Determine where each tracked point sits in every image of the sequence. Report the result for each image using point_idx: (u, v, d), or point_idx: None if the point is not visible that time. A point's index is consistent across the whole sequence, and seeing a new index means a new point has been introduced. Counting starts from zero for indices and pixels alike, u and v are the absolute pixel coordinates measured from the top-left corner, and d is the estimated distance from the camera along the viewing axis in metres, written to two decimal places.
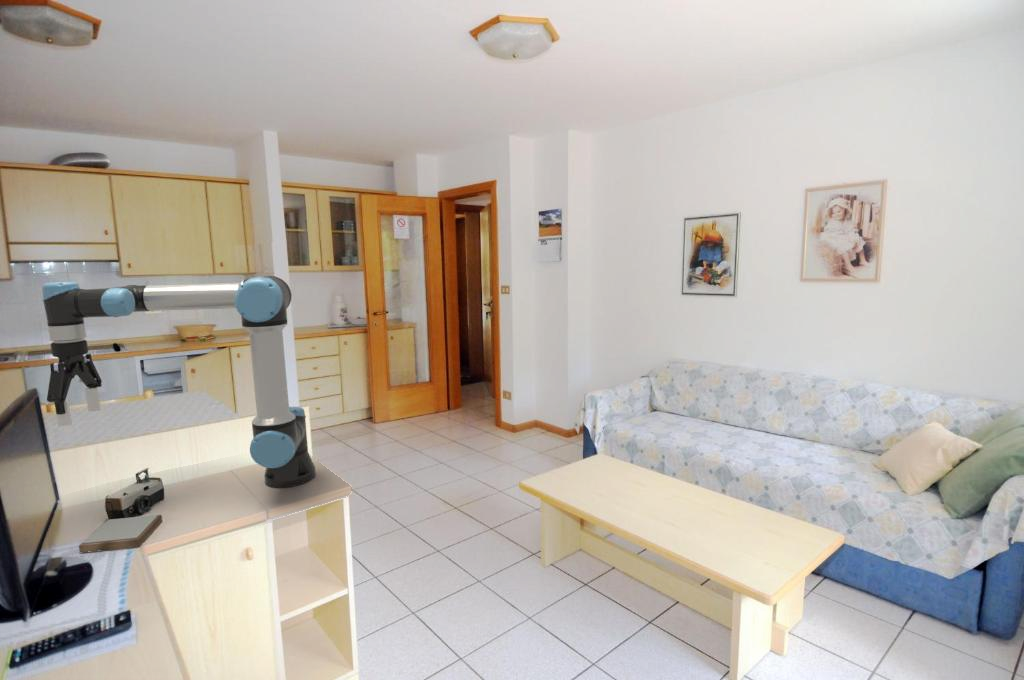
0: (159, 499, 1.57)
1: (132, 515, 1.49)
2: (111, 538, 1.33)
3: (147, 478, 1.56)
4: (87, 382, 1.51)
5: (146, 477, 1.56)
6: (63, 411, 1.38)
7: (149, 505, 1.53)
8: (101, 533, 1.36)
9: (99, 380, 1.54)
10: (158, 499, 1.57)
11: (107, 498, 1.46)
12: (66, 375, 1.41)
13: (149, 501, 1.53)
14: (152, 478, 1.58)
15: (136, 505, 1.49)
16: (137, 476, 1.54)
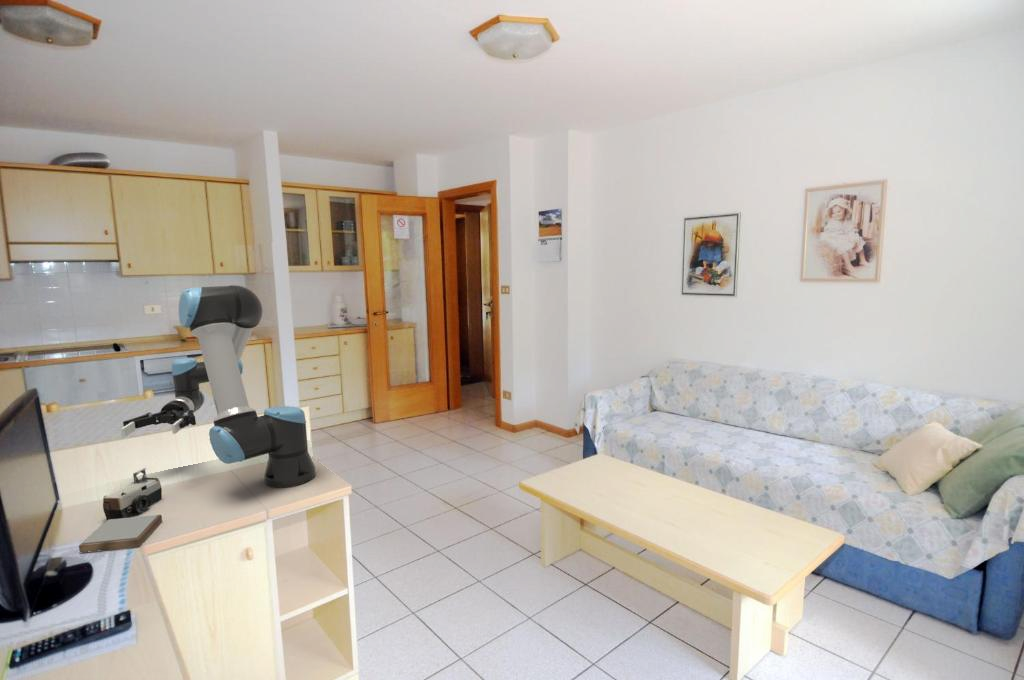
0: (156, 499, 1.58)
1: (130, 515, 1.49)
2: (111, 538, 1.33)
3: (144, 478, 1.56)
4: None
5: (144, 477, 1.56)
6: None
7: (147, 505, 1.53)
8: (101, 533, 1.36)
9: (191, 416, 1.70)
10: (155, 499, 1.57)
11: (105, 498, 1.46)
12: None
13: (147, 501, 1.53)
14: (149, 478, 1.58)
15: (134, 504, 1.49)
16: (135, 476, 1.55)
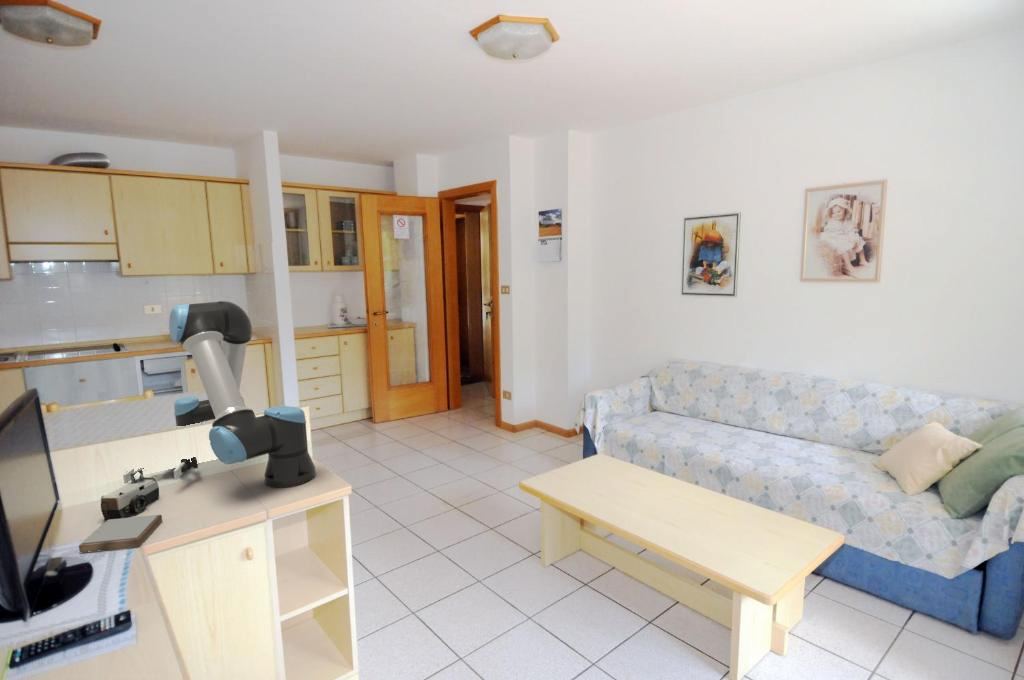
0: (154, 499, 1.58)
1: (128, 515, 1.49)
2: (111, 538, 1.33)
3: (142, 478, 1.56)
4: None
5: (141, 477, 1.56)
6: None
7: (145, 505, 1.53)
8: (101, 533, 1.36)
9: (193, 460, 1.70)
10: (153, 499, 1.57)
11: (103, 498, 1.46)
12: None
13: (145, 501, 1.53)
14: (147, 478, 1.59)
15: (132, 504, 1.49)
16: (132, 476, 1.55)
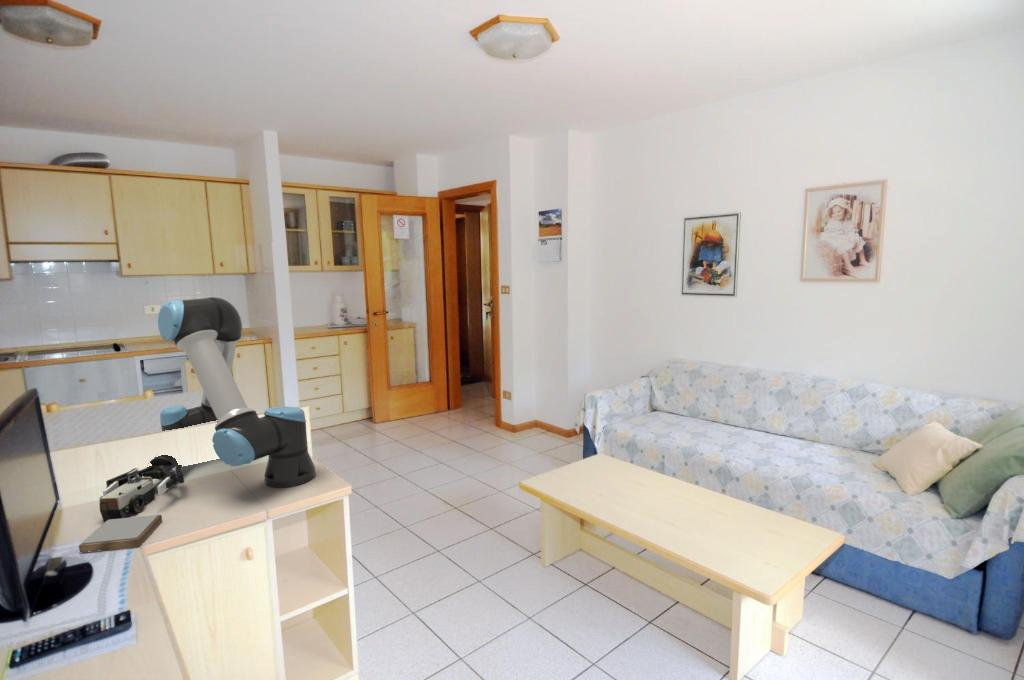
0: (151, 499, 1.58)
1: (128, 514, 1.49)
2: (111, 538, 1.33)
3: (138, 478, 1.56)
4: None
5: (137, 477, 1.56)
6: (107, 487, 1.52)
7: (143, 504, 1.53)
8: (101, 533, 1.36)
9: (179, 474, 1.59)
10: (149, 499, 1.57)
11: (102, 499, 1.45)
12: None
13: (143, 500, 1.53)
14: (142, 478, 1.58)
15: (132, 504, 1.49)
16: (128, 476, 1.54)
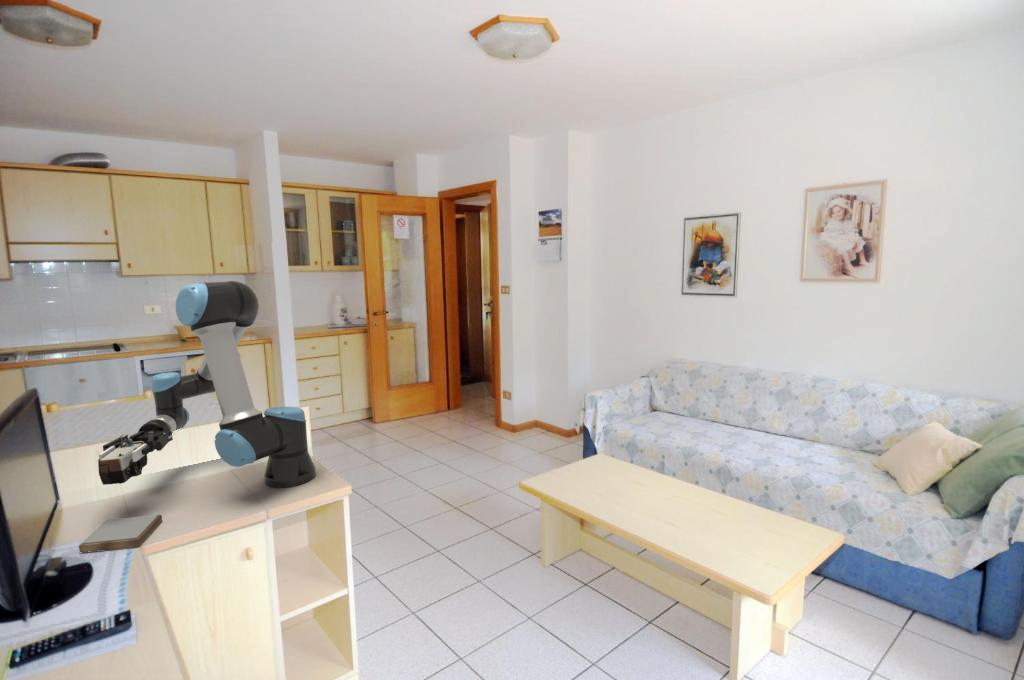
0: (144, 463, 1.53)
1: (128, 476, 1.45)
2: (111, 538, 1.33)
3: (131, 442, 1.51)
4: None
5: (130, 441, 1.51)
6: (104, 451, 1.47)
7: (141, 467, 1.49)
8: (101, 533, 1.36)
9: (157, 441, 1.53)
10: (143, 463, 1.53)
11: (102, 460, 1.40)
12: None
13: (141, 463, 1.49)
14: (133, 443, 1.53)
15: (133, 465, 1.45)
16: (121, 440, 1.49)
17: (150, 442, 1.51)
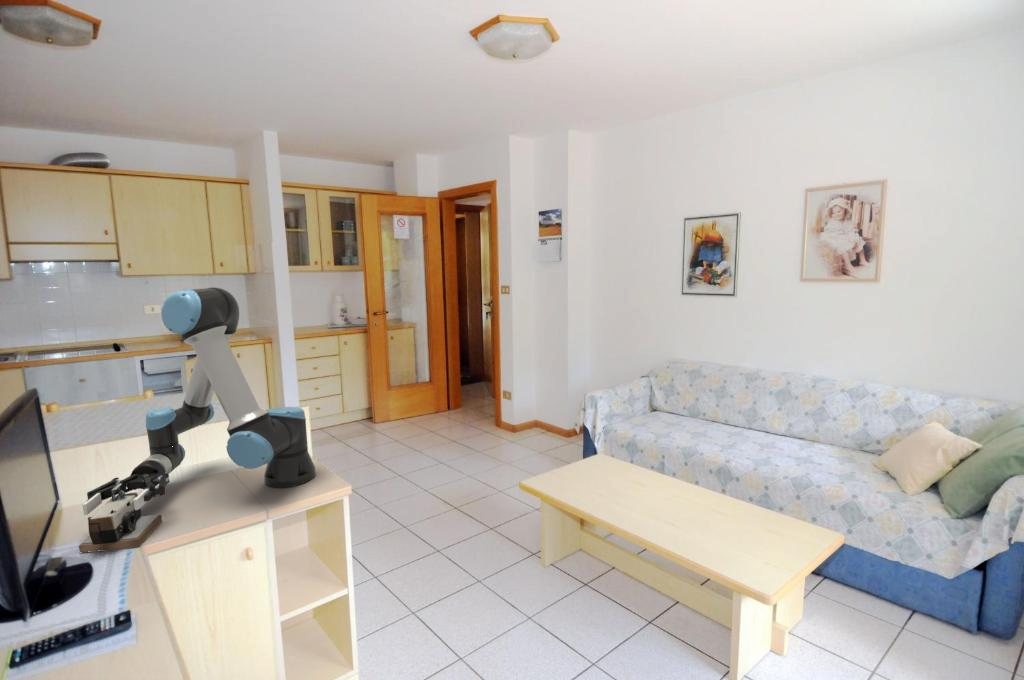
0: (138, 516, 1.42)
1: (121, 534, 1.33)
2: None
3: (123, 495, 1.40)
4: (148, 491, 1.43)
5: (122, 493, 1.40)
6: (88, 500, 1.36)
7: (135, 522, 1.38)
8: None
9: (160, 485, 1.42)
10: (137, 516, 1.42)
11: (92, 519, 1.29)
12: None
13: (134, 517, 1.38)
14: (125, 494, 1.42)
15: (126, 522, 1.34)
16: (113, 493, 1.38)
17: (153, 487, 1.41)
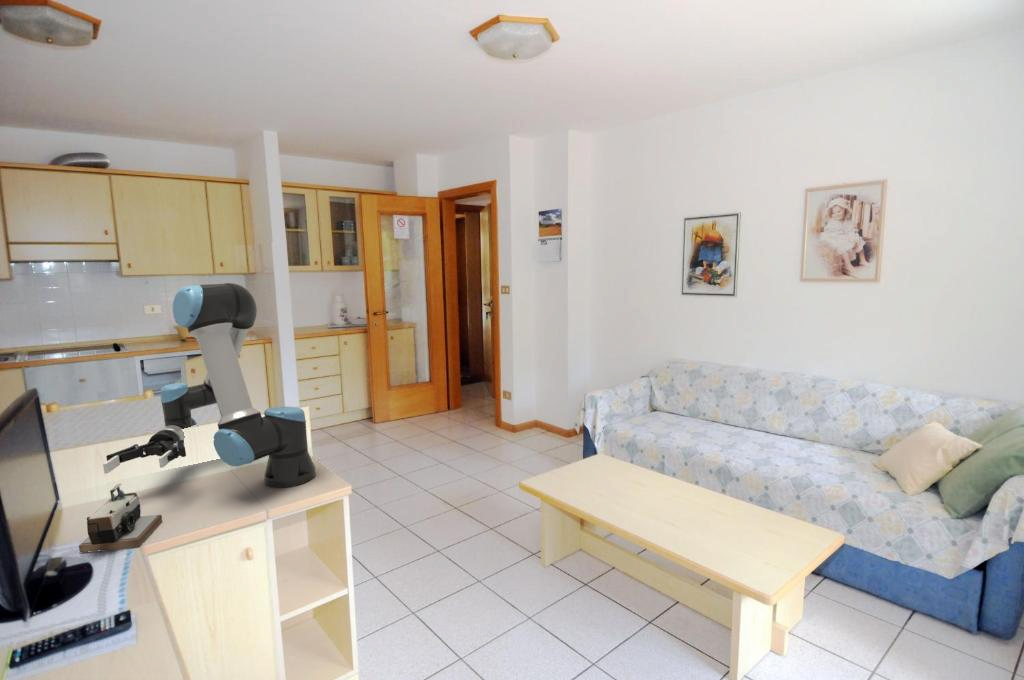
0: (137, 516, 1.42)
1: (120, 534, 1.33)
2: None
3: (123, 495, 1.40)
4: None
5: (122, 493, 1.40)
6: None
7: (134, 522, 1.38)
8: None
9: (181, 448, 1.56)
10: (136, 516, 1.42)
11: (91, 519, 1.29)
12: None
13: (133, 518, 1.38)
14: (125, 494, 1.42)
15: (125, 522, 1.34)
16: (112, 493, 1.38)
17: (176, 448, 1.54)
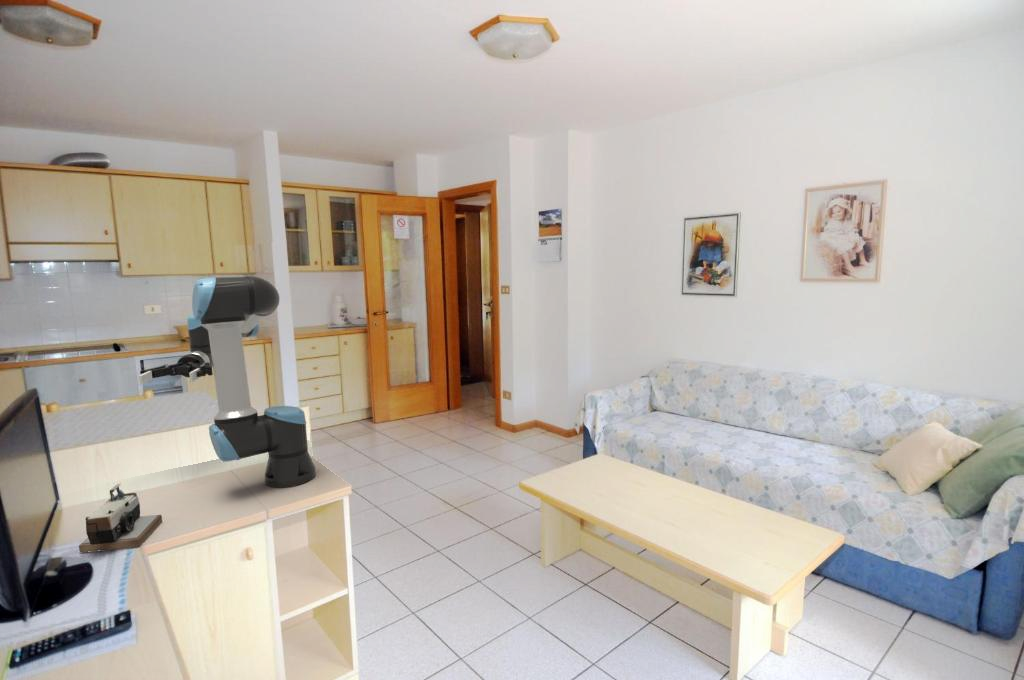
0: (137, 516, 1.42)
1: (119, 534, 1.33)
2: None
3: (122, 495, 1.40)
4: None
5: (121, 493, 1.40)
6: None
7: (133, 522, 1.38)
8: None
9: (208, 367, 1.69)
10: (136, 516, 1.42)
11: (90, 519, 1.29)
12: None
13: (133, 518, 1.38)
14: (125, 494, 1.42)
15: (123, 522, 1.34)
16: (111, 493, 1.38)
17: (203, 367, 1.68)
